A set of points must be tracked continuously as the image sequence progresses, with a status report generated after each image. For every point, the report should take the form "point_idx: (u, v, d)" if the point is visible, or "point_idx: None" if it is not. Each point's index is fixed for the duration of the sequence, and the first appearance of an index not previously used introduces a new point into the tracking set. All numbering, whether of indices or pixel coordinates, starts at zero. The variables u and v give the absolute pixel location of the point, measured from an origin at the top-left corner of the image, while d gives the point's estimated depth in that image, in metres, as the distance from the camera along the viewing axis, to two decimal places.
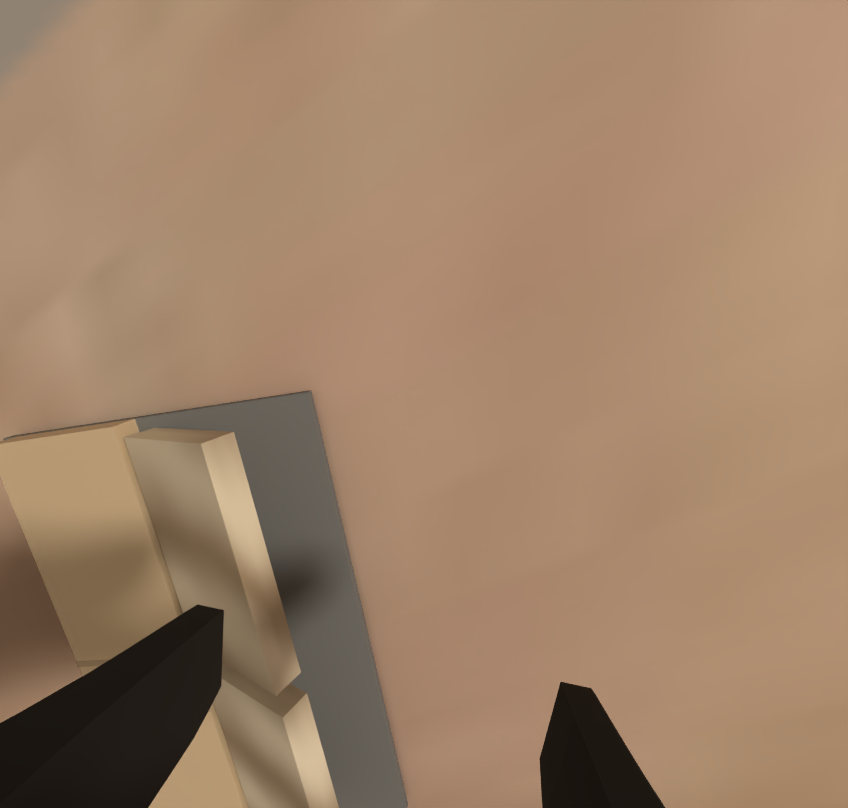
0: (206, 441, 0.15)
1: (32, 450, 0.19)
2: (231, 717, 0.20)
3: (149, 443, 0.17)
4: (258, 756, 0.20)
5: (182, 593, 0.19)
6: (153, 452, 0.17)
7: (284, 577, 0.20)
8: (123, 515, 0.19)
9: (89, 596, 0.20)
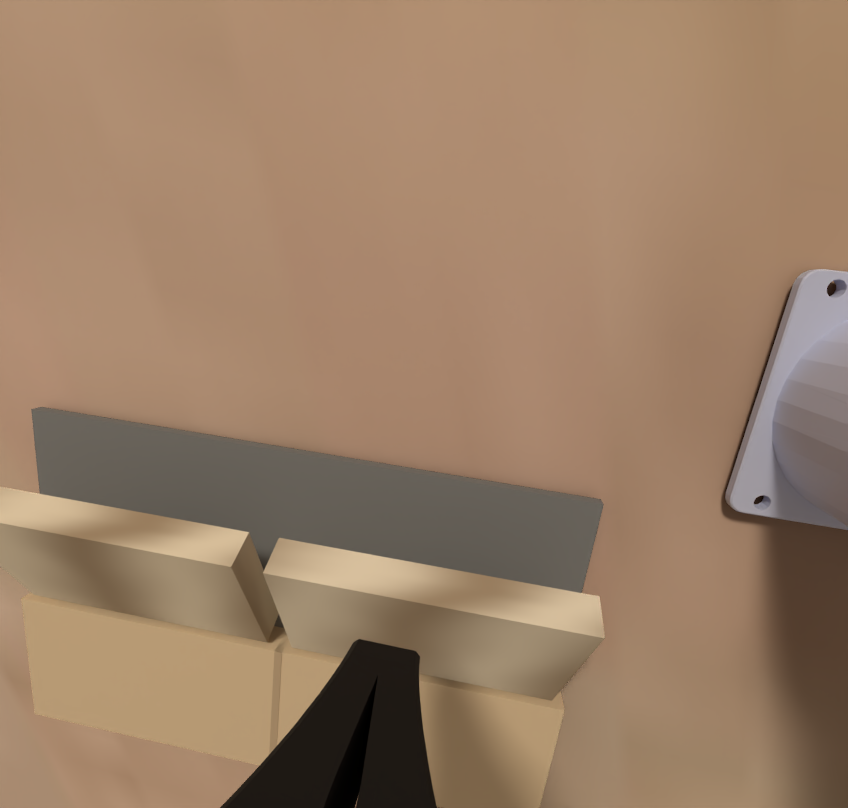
0: None
1: (40, 679, 0.19)
2: (345, 644, 0.16)
3: (5, 568, 0.17)
4: (383, 637, 0.15)
5: (191, 621, 0.17)
6: (13, 569, 0.17)
7: (227, 515, 0.18)
8: (108, 635, 0.18)
9: (193, 713, 0.19)
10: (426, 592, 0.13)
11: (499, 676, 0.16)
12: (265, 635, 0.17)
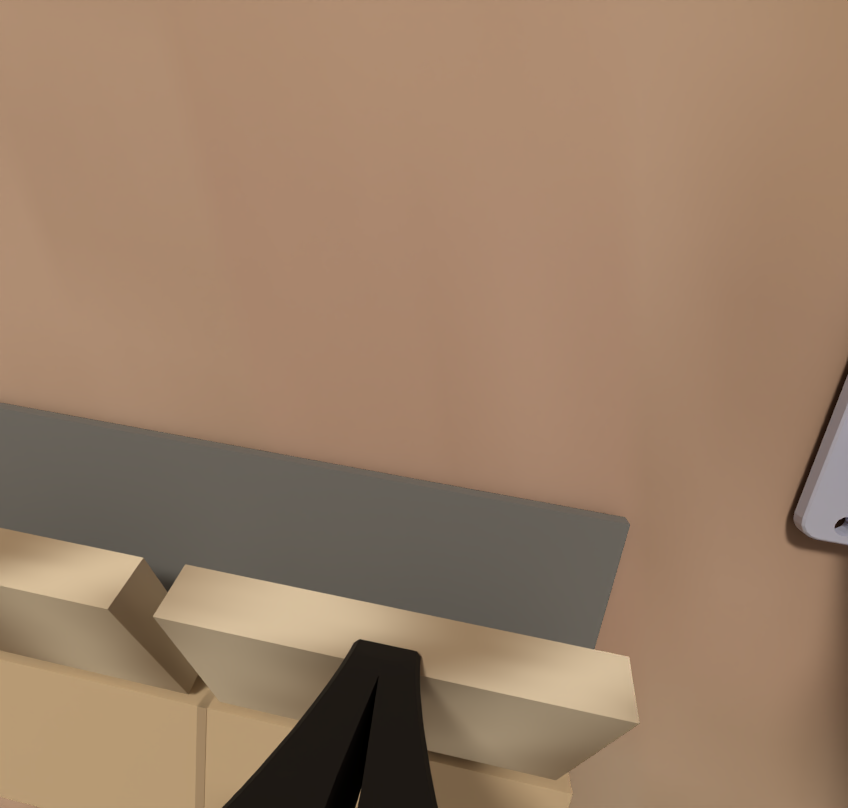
0: None
1: None
2: (284, 704, 0.12)
3: None
4: None
5: (89, 666, 0.13)
6: None
7: (140, 528, 0.14)
8: None
9: (98, 778, 0.15)
10: None
11: (487, 751, 0.12)
12: (185, 686, 0.13)
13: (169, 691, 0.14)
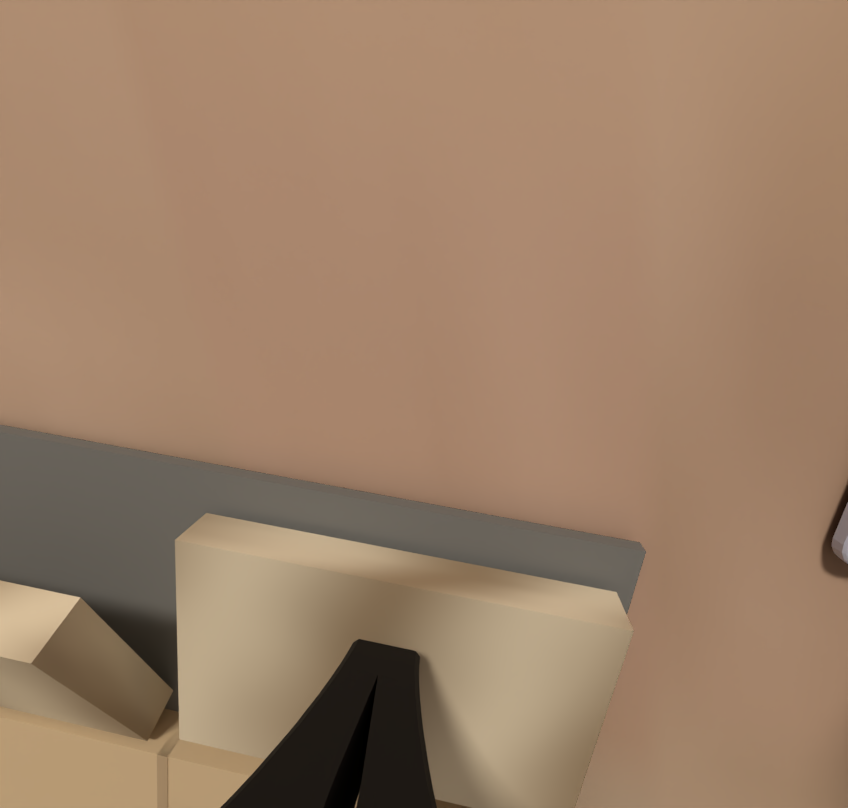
0: None
1: None
2: (264, 715, 0.11)
3: None
4: (323, 683, 0.11)
5: (34, 710, 0.12)
6: None
7: (92, 554, 0.12)
8: None
9: None
10: (393, 572, 0.10)
11: (489, 769, 0.11)
12: (142, 733, 0.12)
13: (126, 736, 0.12)
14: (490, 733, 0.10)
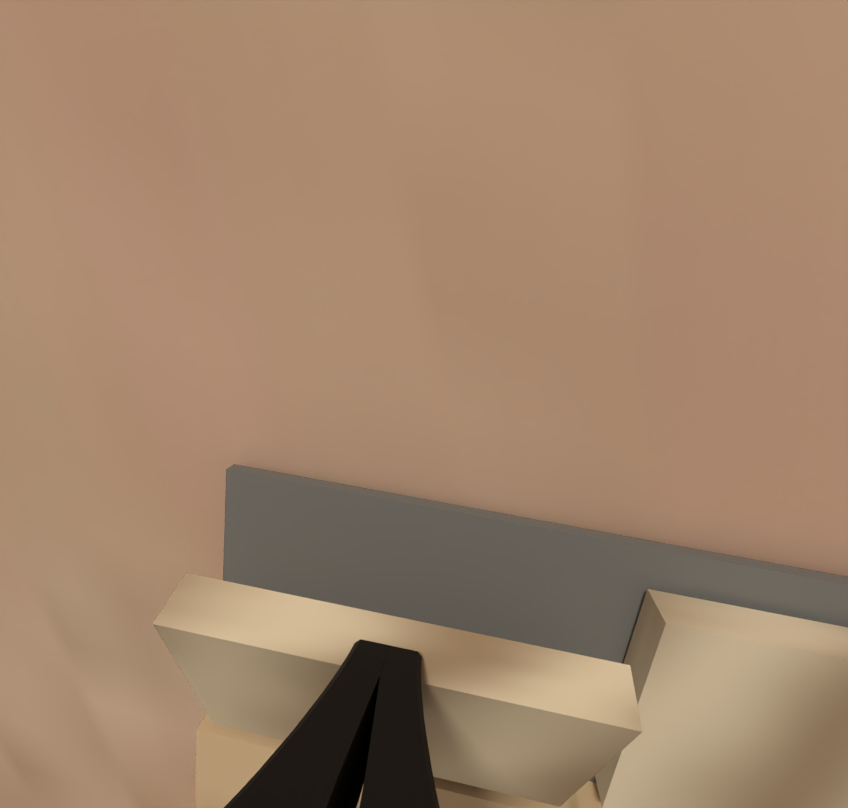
0: (161, 614, 0.10)
1: None
2: (707, 788, 0.11)
3: (200, 695, 0.12)
4: (786, 760, 0.11)
5: (456, 774, 0.12)
6: (213, 697, 0.12)
7: (500, 623, 0.12)
8: None
9: None
10: None
11: None
12: (564, 798, 0.12)
13: (530, 801, 0.12)
14: None
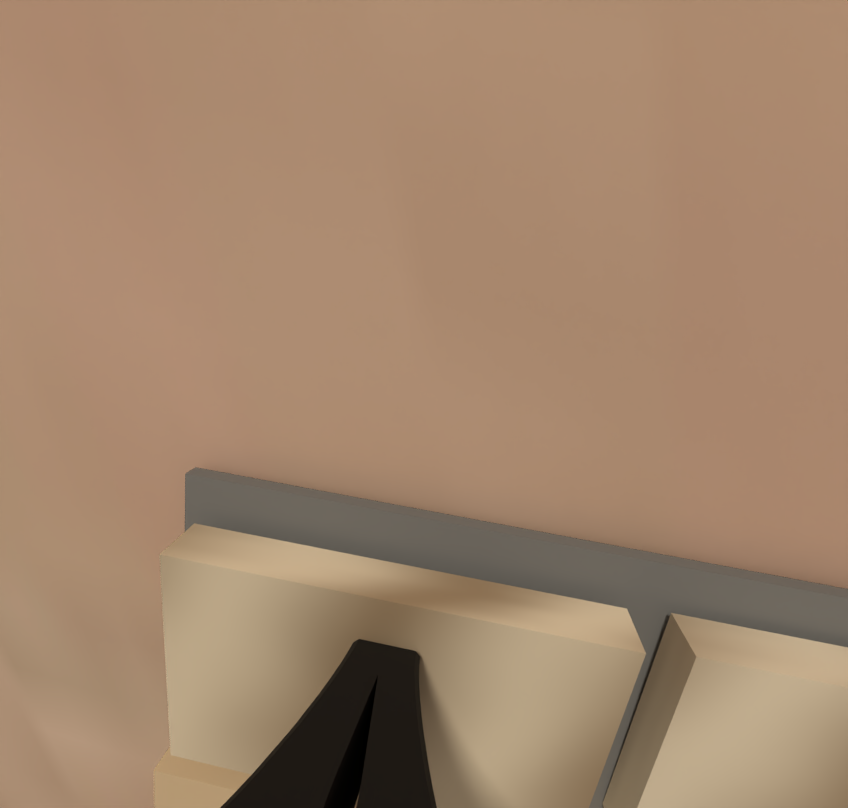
0: (167, 550, 0.10)
1: None
2: None
3: (172, 689, 0.11)
4: None
5: (452, 803, 0.10)
6: (187, 691, 0.10)
7: None
8: None
9: None
10: None
11: None
12: None
13: None
14: None
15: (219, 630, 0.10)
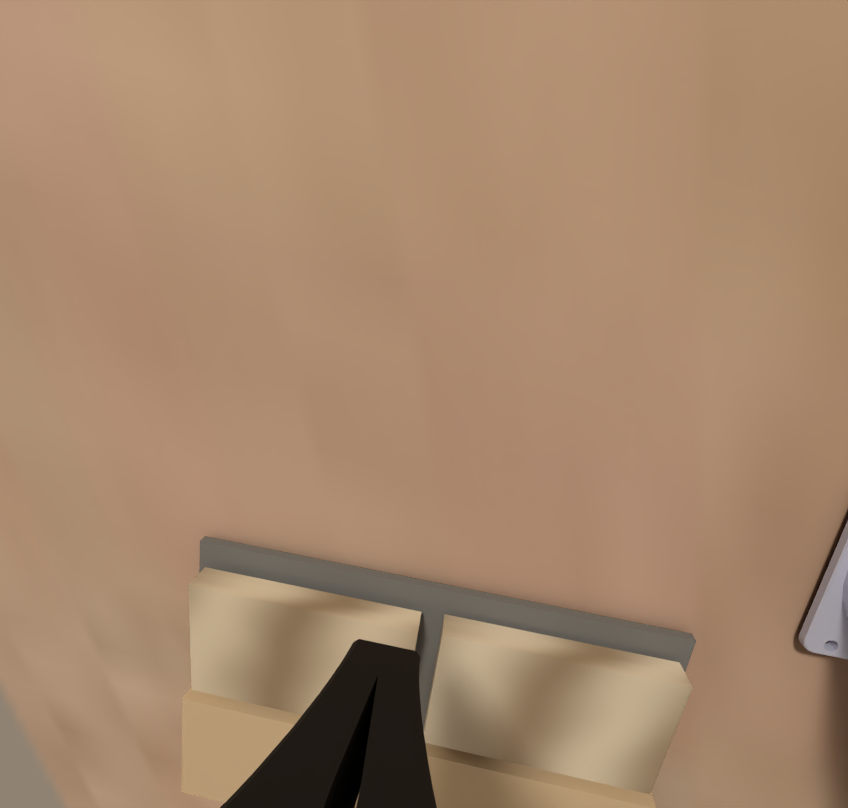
0: (192, 582, 0.19)
1: (191, 764, 0.22)
2: (477, 729, 0.19)
3: (193, 653, 0.20)
4: (516, 711, 0.19)
5: None
6: (201, 654, 0.20)
7: None
8: (257, 731, 0.21)
9: None
10: (560, 653, 0.18)
11: (607, 760, 0.19)
12: None
13: None
14: (609, 740, 0.19)
15: (217, 622, 0.20)
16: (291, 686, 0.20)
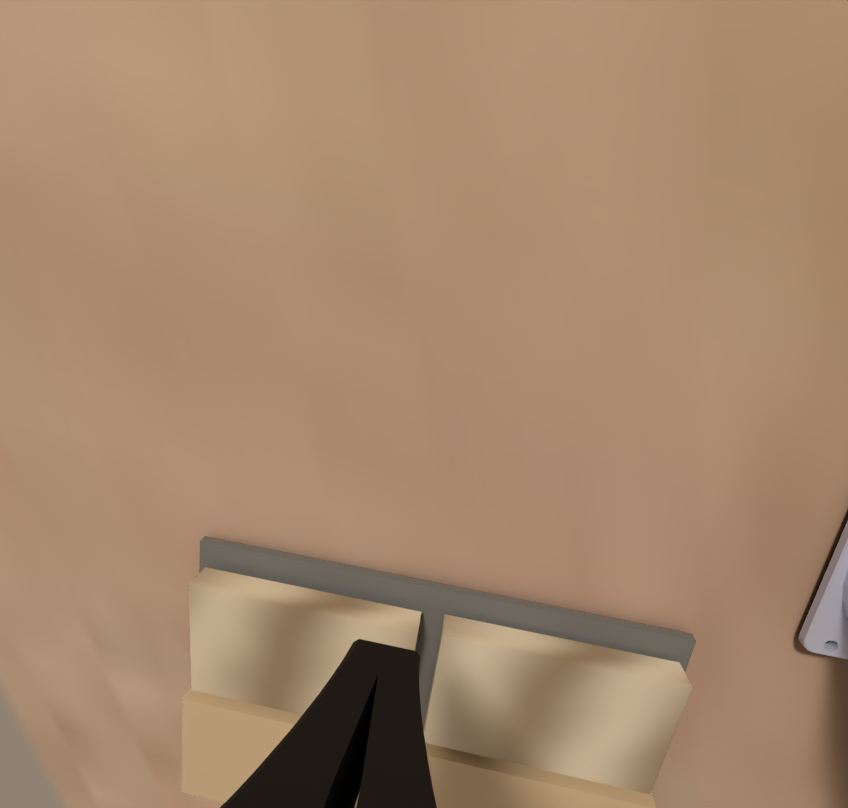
0: (192, 582, 0.19)
1: (191, 764, 0.22)
2: (477, 729, 0.19)
3: (193, 653, 0.20)
4: (516, 711, 0.19)
5: None
6: (201, 654, 0.20)
7: None
8: (257, 731, 0.21)
9: None
10: (560, 653, 0.18)
11: (607, 760, 0.19)
12: None
13: None
14: (609, 740, 0.19)
15: (217, 622, 0.20)
16: (291, 686, 0.20)
